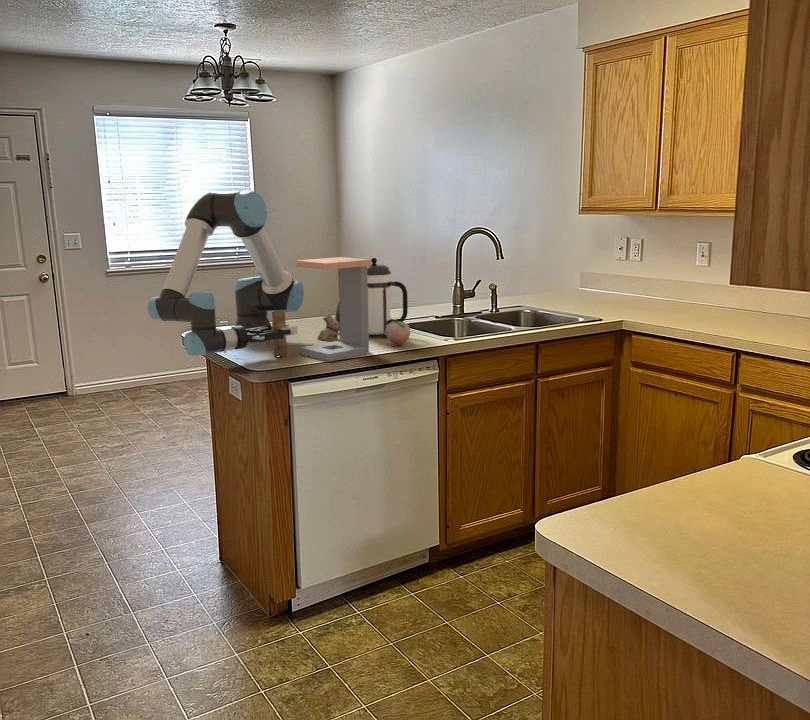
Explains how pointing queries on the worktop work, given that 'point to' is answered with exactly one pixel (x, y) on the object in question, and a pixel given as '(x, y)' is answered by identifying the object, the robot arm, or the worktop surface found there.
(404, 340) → the decorative fruit
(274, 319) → the peg
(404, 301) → the coffee press
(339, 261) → the socket
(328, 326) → the chocolate bunny
